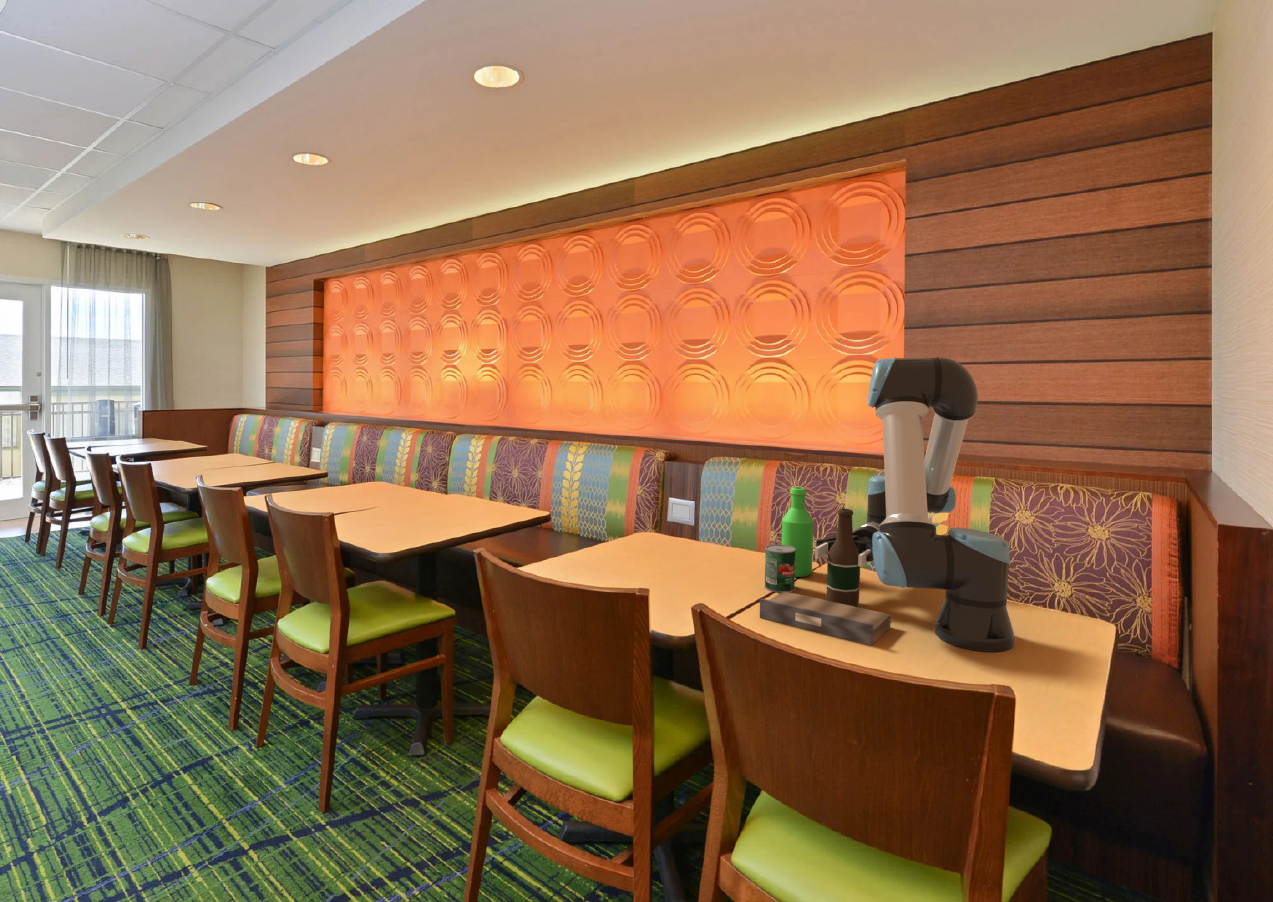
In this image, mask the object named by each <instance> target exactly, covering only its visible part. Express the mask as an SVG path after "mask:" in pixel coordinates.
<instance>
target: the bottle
mask: <svg viewBox="0 0 1273 902" xmlns="http://www.w3.org/2000/svg"><path fill="white" fill-rule="evenodd" d="M790 494H791V498H790V499H791V501H790V503H791V505H790V507H789V509H788V511H787V512H786V513H785V514H784V516H783V517H782V518H781V519H782V524H781V545H787V546H792V547H794V548H795V549H796V550H795V578H803V577H804V578H805V577H808V576H809V575H810V574H811V573H813V555H814V553H813V552H814V520H813V517H812V516H811V515H810V513H809V512H808V510H807V508H806V494H807V492H806V488H804V487H800V486H794V487H791V489H790Z"/></svg>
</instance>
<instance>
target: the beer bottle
mask: <svg viewBox="0 0 1273 902" xmlns="http://www.w3.org/2000/svg"><path fill="white" fill-rule="evenodd" d="M836 514H838V519H837V531H836V535H837V536H836V541H835V543H834V544H833V545H832V547H831V548H830V551H829V552H828V554H827V565H826V567H827V568H826V569H827V570H826V571H827V572H826V600H827V601H831V602H836V603H840V604H845V605H850V606H854V607H858V606H859V603H860V587H861V586H860V584H861V583H860V582H861V567H860V566H858V557H859V555H860V553H859V550H858V548H857V546H856V545H855V543H854V540H853V532H854V530H853V515H854V510H852V509H850V508H840V509H838V511H837V513H836Z"/></svg>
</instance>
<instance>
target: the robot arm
mask: <svg viewBox="0 0 1273 902" xmlns="http://www.w3.org/2000/svg"><path fill="white" fill-rule="evenodd" d="M976 384H977V383H976V382H975V380H974V378H973V376H972V375H971V373H970V371H968V370H967V368H966V367H964V366H963V365H962V364H961V363H959V362H958V361H956V360H954V359H953V358H952V359H951V358H948V357H941V356H940V357H938V356H937V357H896V356H895V357H893V358H892V357H891V358H880V359H878V360H876V361H875V363H874V365H873V368H872V372H871V377H870V383H869V389H868V396H867V405H868V406H869V407H870V408H875V416H876V417H877V418H879V419H880V420H881V421H882V434H883V435H882V436H883V440H882V441H883V460H884V461H883V462H884V463H883V465H884V475H874V476H872V477H870V479H869V480H868V489H867V515H866V524H864V525H862V526H860V527H858V528H856V529H855V530H853V540H854V543H855V545H856V546H857V548H858V550H859V553H860V555H859V557H858V566H860V568H862V567H863V566H865V565H867V564H868V563H871V562H873V563H874V568H875V572H876V574H877V577H878V579H879V581H880V582H881V583H882V584H884V585H885V586H890V587H899V588H902V589H905V588H913V589H914V588H915V589H931V590H944V591H945V596H944V597H945V598H944V602H942V603H943V604H942V606H941V608H940V611H939V613H938V615H937V617H936V620H935V625H934V632H935V633H934V634H935V635H936V636H937V637H938V638H940V640H942V641H945V642H946V643H948V644H951V645H954V646H957V647H960V648H963V649H968V650H973V651H978V652H979V651H980V652H1002V651H1007V650H1008V651H1009V650H1010V649H1012V647H1014V645H1015V632H1014V628H1013V626H1012V621H1011V619H1010V616H1009V612H1008V610H1007V609H1008V608H1007V601H1008V600H1007V599H1008V586H1009V571H1010V570H1009V568H1010V564H1011V558H1010V545H1009V543H1008V542H1007V541H1006V540H1005V539H1004V538H1003V537H1001V536H999V535H998V534H997V535H996V534H994V533H990V532H987V531H983V530H980V529H979V530H978V529H973V528H968V527H958V526H957V527H950V528H949V530H948V531H947V534H937V525H936V524H935V523H934V522H933V521H932V520H930V519H929V518H928V517H929V516H928V514H930V513H932V514H941V513H942V514H946V513H948V514H949V513H952V512H953V511H954V509H955V508H956V501H957V494H956V490H955V488H954V487H953V486H952V485H951V483H952V479H953V476H954V473H955V469H956V466H957V462H958V457H959V455H960V451H961V447H962V443H963V441H964V440H963V439H964V437H965V433H966V429H967V427H968V423H969V420H971V419H972V418H973V417H974V416H975V413H976V410H977V407H978V401H979V395H978V389H977V385H976ZM930 408H931V409H932V412H934V416H933V420H932V425H931V429H930V434H929V438H928V442H927V446H926V452H925V449H924V448H925V444H924V428H923V426H924V425H923V419H924V417H925V416H926V415H928V413H929V411H930ZM836 536H837V534H835V535H834V536H830V537H826V538H825V537H824V538H821V539H816V541H815V547H814V559H815V560H818V559H820V558H822V557H824V556H826V555H828V553H829V551H830V548H831V547H832V545H833V544H834V543H835V541H836Z"/></svg>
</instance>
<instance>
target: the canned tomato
mask: <svg viewBox="0 0 1273 902" xmlns="http://www.w3.org/2000/svg"><path fill="white" fill-rule="evenodd" d="M795 550H796V549H795V548H794V547H792V546H787V545H782V544H768V545H766V546H765V555H764V556H765V560H764V561H765V562H764V589H765V590H767V591H769V592H772V593H773V592H774V593H778V594H780V593H782V592H784V591H785V592H790V593H793V591H795V580H796V577H795Z"/></svg>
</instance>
